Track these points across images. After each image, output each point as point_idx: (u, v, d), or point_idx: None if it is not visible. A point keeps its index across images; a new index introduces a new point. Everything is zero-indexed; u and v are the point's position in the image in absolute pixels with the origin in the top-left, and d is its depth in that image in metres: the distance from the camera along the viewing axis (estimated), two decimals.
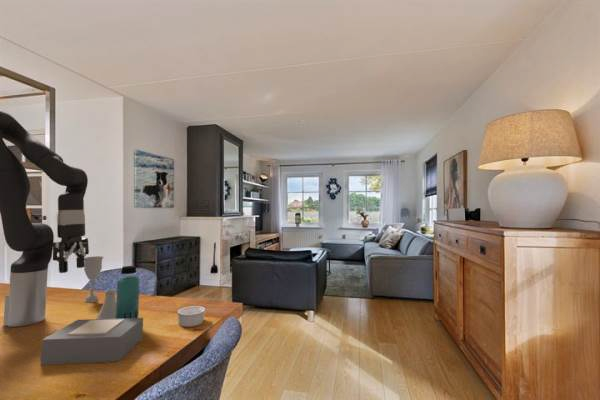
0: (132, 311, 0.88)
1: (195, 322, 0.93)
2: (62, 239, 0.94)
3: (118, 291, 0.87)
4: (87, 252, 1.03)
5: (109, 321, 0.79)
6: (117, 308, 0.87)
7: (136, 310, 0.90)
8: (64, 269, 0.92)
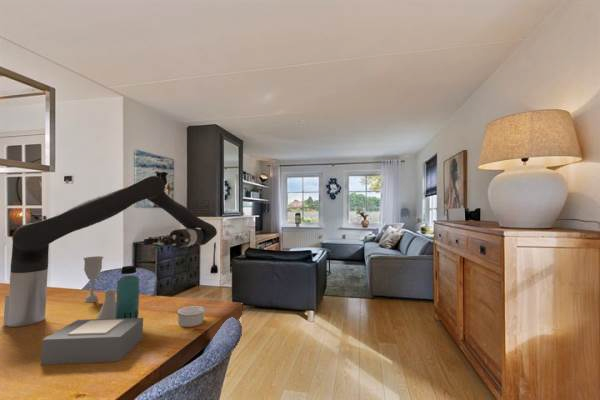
0: (132, 311, 0.88)
1: (195, 322, 0.93)
2: None
3: (118, 291, 0.87)
4: None
5: (109, 321, 0.79)
6: (117, 308, 0.87)
7: (136, 310, 0.90)
8: (168, 244, 1.01)
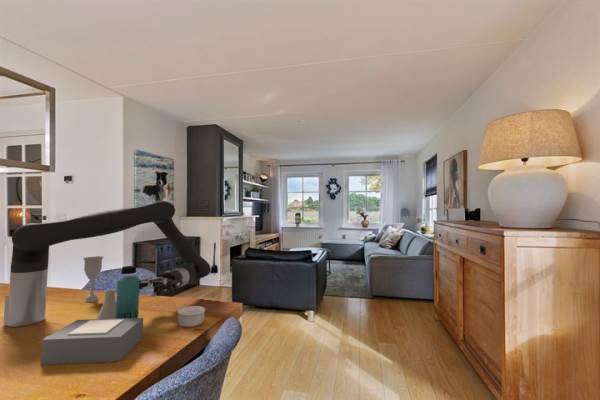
0: (132, 311, 0.88)
1: (195, 322, 0.93)
2: (174, 281, 1.07)
3: (118, 291, 0.87)
4: None
5: (109, 321, 0.79)
6: (117, 308, 0.87)
7: (136, 310, 0.90)
8: None
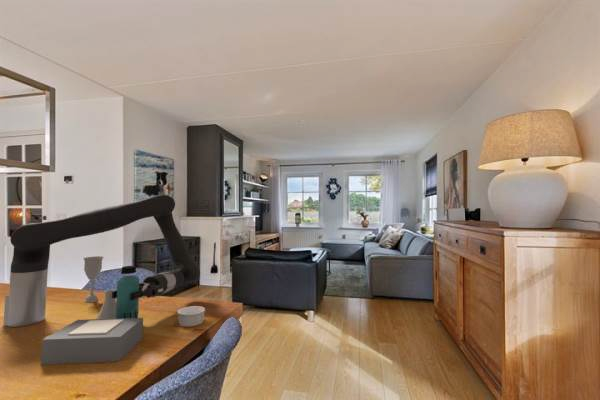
0: (132, 311, 0.88)
1: (195, 322, 0.93)
2: (158, 286, 0.98)
3: (118, 291, 0.87)
4: None
5: (109, 321, 0.79)
6: (117, 308, 0.87)
7: (136, 310, 0.90)
8: (135, 298, 0.88)
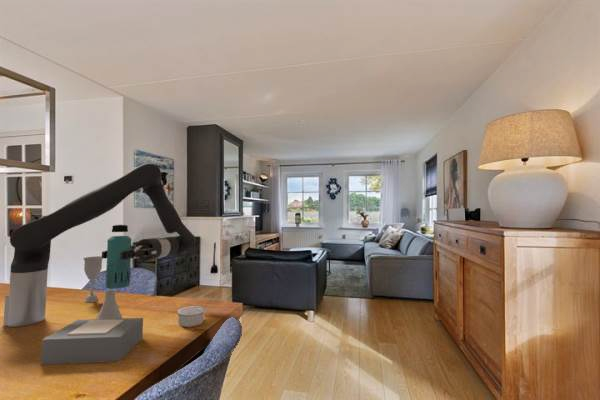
0: (124, 271, 0.83)
1: (195, 322, 0.93)
2: None
3: (108, 250, 0.82)
4: None
5: (109, 321, 0.79)
6: (107, 268, 0.82)
7: (128, 271, 0.84)
8: (126, 258, 0.83)
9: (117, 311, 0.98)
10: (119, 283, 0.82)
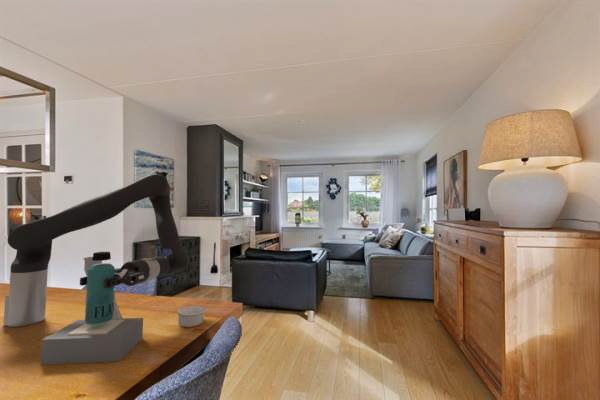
0: (105, 305, 0.75)
1: (195, 322, 0.93)
2: (137, 273, 0.84)
3: (88, 281, 0.74)
4: None
5: (109, 321, 0.79)
6: (87, 301, 0.74)
7: (110, 303, 0.76)
8: (110, 285, 0.74)
9: (117, 311, 0.98)
10: (100, 318, 0.74)
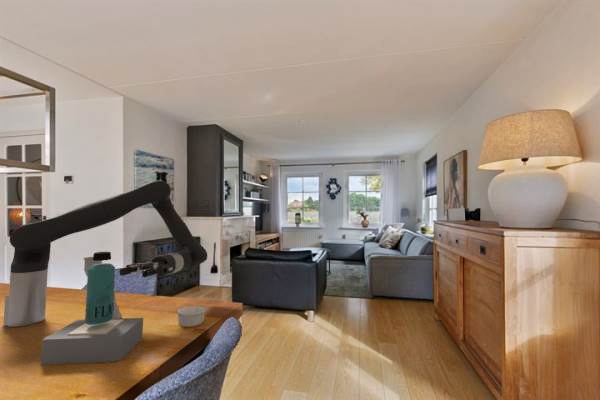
0: (105, 305, 0.75)
1: (195, 322, 0.93)
2: (166, 265, 0.97)
3: (88, 281, 0.74)
4: None
5: (109, 321, 0.79)
6: (87, 301, 0.74)
7: (110, 303, 0.76)
8: (147, 275, 0.87)
9: (117, 311, 0.98)
10: (100, 319, 0.74)
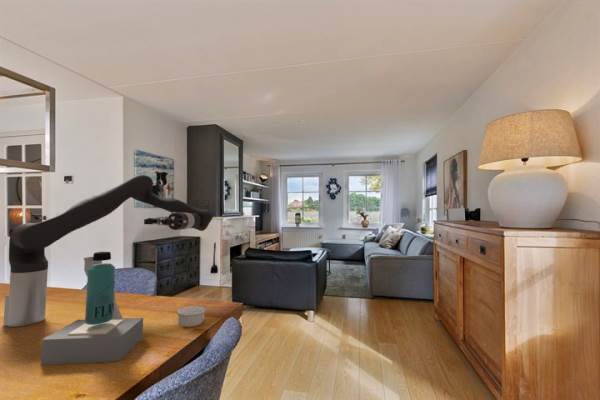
0: (105, 305, 0.75)
1: (195, 322, 0.93)
2: None
3: (88, 281, 0.74)
4: None
5: (109, 321, 0.79)
6: (87, 301, 0.74)
7: (110, 303, 0.76)
8: (167, 223, 1.06)
9: (117, 311, 0.98)
10: (100, 319, 0.74)
